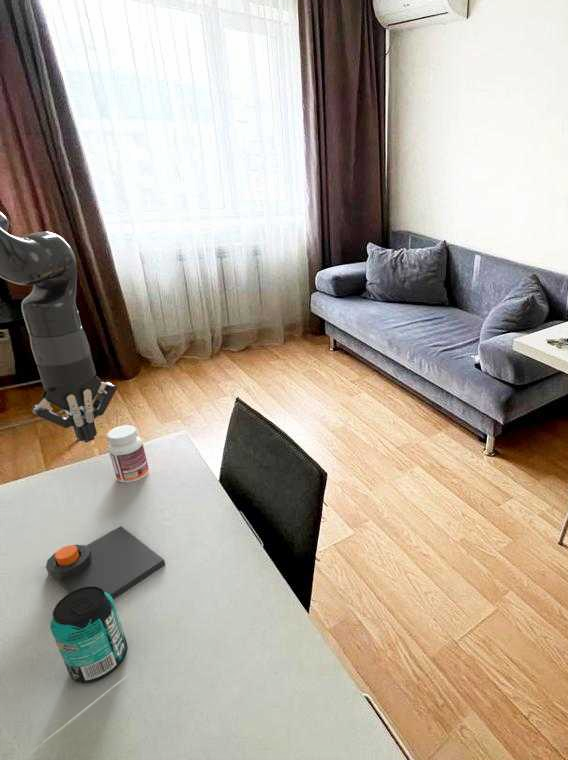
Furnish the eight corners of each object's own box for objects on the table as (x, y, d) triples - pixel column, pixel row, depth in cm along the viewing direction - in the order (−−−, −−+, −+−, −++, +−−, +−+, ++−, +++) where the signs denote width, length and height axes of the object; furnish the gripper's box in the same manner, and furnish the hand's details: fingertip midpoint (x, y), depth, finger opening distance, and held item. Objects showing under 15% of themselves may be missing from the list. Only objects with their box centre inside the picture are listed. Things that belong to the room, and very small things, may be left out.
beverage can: (108, 631, 75) (89, 574, 70) (139, 651, 73) (122, 594, 68) (59, 672, 69) (34, 613, 64) (90, 695, 67) (67, 636, 62)
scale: (44, 574, 84) (39, 561, 82) (121, 530, 94) (117, 518, 92) (87, 617, 77) (83, 603, 76) (165, 565, 87) (162, 552, 86)
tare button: (54, 561, 83) (51, 553, 82) (74, 549, 85) (71, 542, 85) (62, 569, 82) (60, 561, 81) (82, 557, 84) (80, 550, 83)
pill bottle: (155, 468, 110) (145, 426, 106) (134, 486, 105) (123, 441, 100) (131, 464, 111) (120, 421, 106) (109, 481, 106) (96, 437, 101)
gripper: (95, 337, 90) (115, 418, 97) (5, 360, 80) (35, 448, 87) (116, 348, 87) (136, 431, 94) (25, 374, 76) (55, 464, 84)
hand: (87, 439), depth 90 cm, fingers closed
